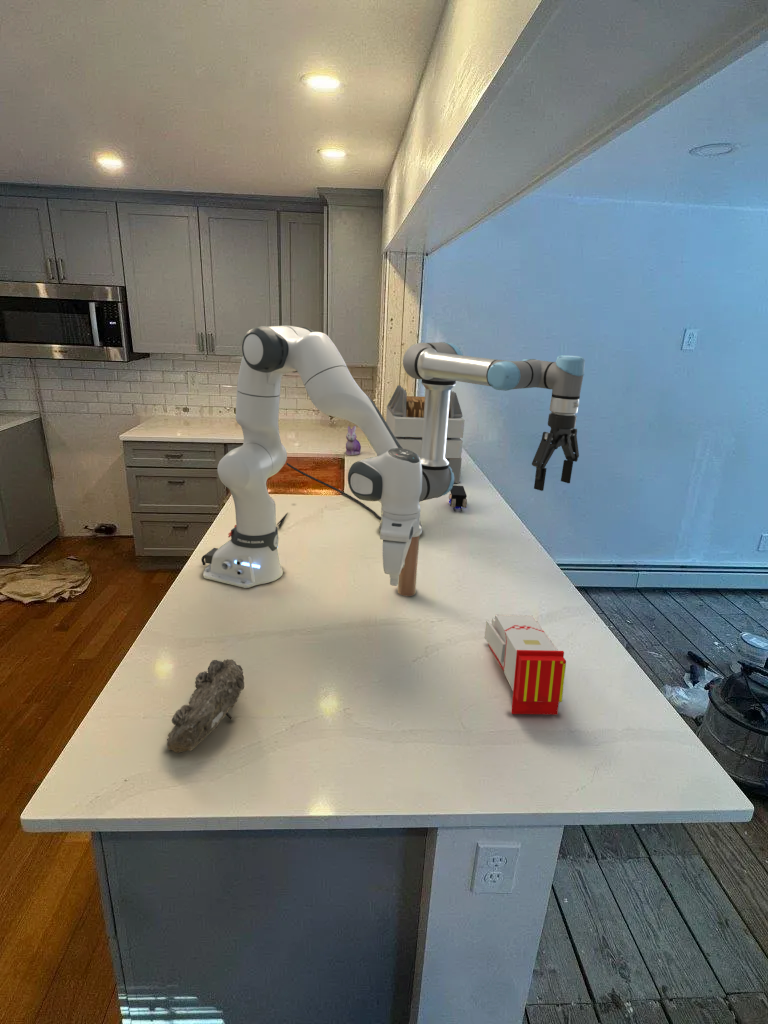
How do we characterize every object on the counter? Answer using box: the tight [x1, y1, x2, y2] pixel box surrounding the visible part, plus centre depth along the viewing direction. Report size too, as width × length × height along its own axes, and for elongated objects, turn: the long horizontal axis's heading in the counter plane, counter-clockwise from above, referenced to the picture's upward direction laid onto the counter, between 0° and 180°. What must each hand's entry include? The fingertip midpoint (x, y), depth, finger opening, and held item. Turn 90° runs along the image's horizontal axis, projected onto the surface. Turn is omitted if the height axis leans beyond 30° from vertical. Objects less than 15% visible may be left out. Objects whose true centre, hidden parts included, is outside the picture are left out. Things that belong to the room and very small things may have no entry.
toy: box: [484, 614, 567, 716], centre depth 124 cm, size 12×13×30 cm
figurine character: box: [448, 484, 468, 512], centre depth 228 cm, size 7×8×15 cm
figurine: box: [344, 425, 362, 456], centre depth 303 cm, size 9×10×15 cm
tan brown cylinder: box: [397, 536, 420, 597], centre depth 156 cm, size 5×5×19 cm
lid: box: [412, 525, 421, 537], centre depth 153 cm, size 6×6×2 cm
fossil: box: [166, 658, 245, 754], centre depth 106 cm, size 22×10×15 cm
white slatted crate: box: [385, 384, 465, 484], centre depth 268 cm, size 34×33×41 cm
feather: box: [276, 513, 288, 529], centre depth 211 cm, size 2×28×2 cm
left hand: (397, 575), depth 134 cm, fingers open, 8 cm apart
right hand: (552, 485), depth 166 cm, fingers open, 13 cm apart
